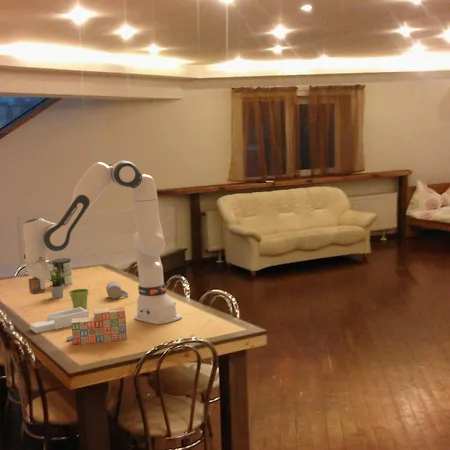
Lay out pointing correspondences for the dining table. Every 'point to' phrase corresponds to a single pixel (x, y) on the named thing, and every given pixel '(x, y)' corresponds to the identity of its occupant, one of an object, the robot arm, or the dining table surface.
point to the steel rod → (69, 338)
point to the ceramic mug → (115, 290)
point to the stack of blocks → (100, 326)
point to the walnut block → (35, 286)
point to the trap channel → (59, 320)
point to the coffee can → (60, 265)
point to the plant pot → (79, 298)
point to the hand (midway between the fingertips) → (39, 287)
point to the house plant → (57, 283)
